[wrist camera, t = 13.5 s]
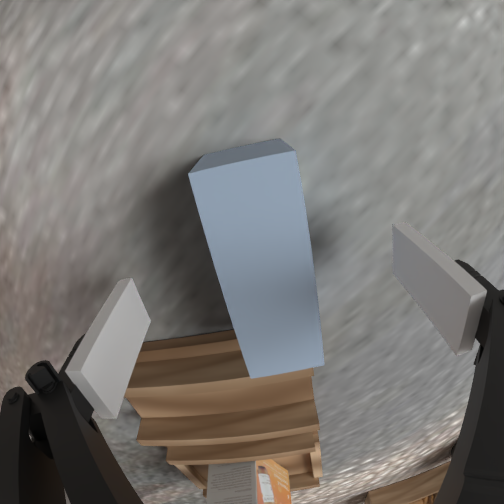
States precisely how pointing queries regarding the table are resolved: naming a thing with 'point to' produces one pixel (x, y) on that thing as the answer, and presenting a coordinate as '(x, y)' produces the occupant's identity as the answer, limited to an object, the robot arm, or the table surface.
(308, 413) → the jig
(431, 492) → the open wooden box
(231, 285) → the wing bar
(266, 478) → the small box
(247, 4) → the table surface
